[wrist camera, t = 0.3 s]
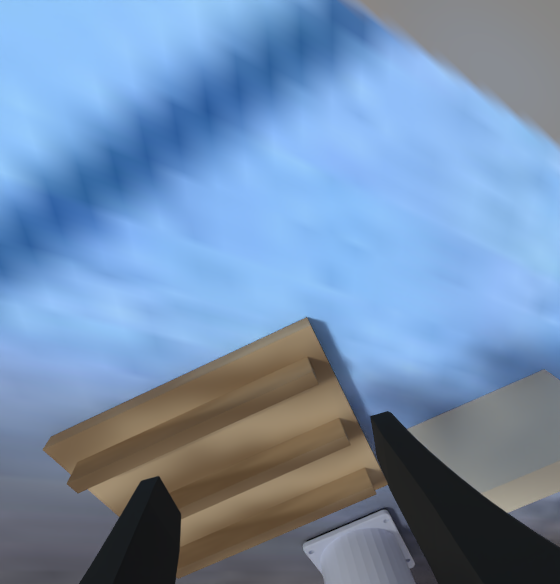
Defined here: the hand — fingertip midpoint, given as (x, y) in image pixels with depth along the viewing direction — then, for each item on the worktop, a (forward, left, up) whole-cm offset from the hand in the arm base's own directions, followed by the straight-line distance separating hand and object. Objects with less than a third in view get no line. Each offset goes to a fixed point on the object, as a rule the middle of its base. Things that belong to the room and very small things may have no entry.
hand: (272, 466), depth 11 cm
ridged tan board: (-9, +6, -10) cm, 15 cm away
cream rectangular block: (-15, -11, -10) cm, 21 cm away
